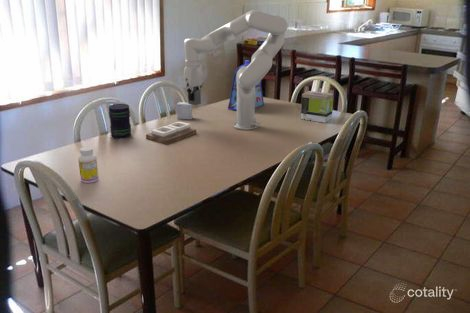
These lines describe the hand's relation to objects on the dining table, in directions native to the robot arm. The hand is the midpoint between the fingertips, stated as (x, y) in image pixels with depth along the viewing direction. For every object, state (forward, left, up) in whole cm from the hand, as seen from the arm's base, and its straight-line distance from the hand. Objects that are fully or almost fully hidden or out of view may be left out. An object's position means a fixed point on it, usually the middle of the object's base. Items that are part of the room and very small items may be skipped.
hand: (194, 99), depth 232 cm
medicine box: (+16, -10, -15) cm, 25 cm away
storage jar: (+20, +32, -15) cm, 41 cm away
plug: (0, 0, -2) cm, 2 cm away
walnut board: (0, +17, -15) cm, 23 cm away
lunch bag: (+3, -51, -16) cm, 53 cm away
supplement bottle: (-13, +75, -15) cm, 78 cm away
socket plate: (+1, +17, -13) cm, 22 cm away
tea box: (-43, -54, -16) cm, 70 cm away
